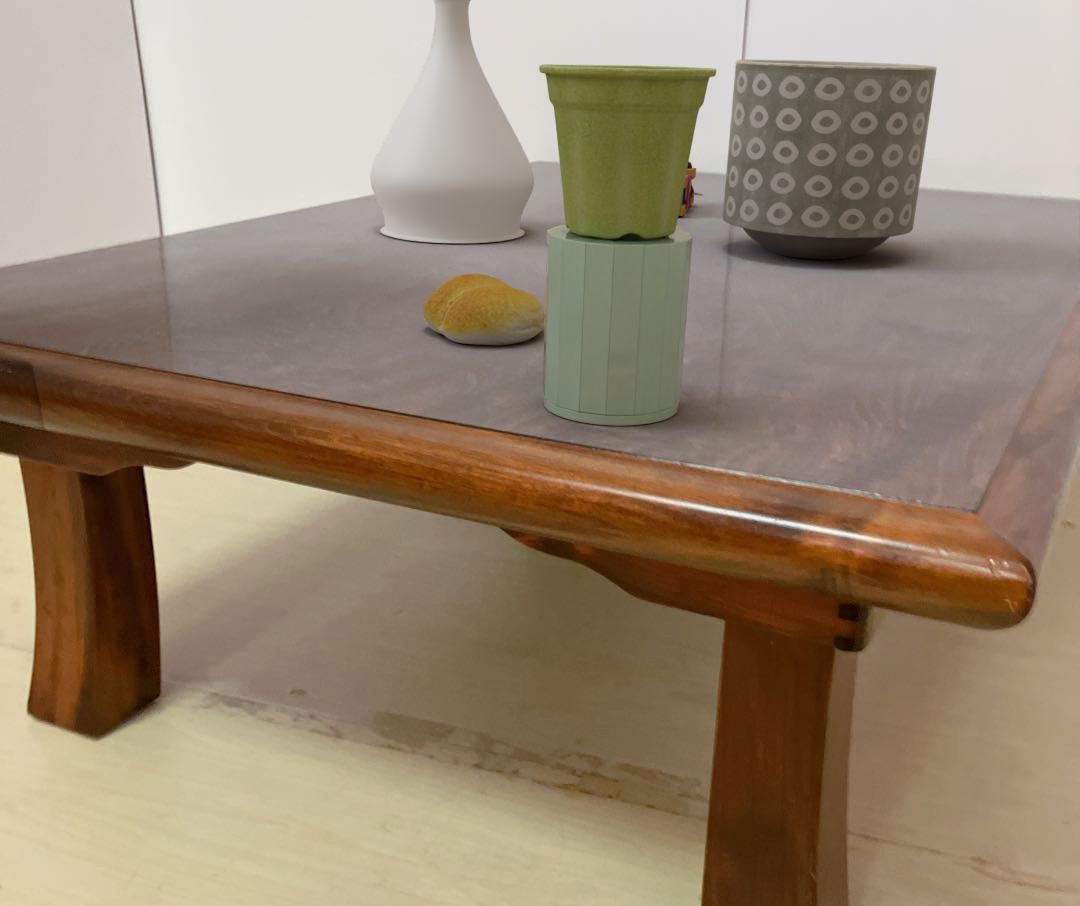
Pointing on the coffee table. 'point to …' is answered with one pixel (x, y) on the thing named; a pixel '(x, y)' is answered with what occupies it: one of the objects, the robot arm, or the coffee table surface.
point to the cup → (615, 326)
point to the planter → (826, 153)
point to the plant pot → (624, 144)
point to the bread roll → (483, 311)
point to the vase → (452, 150)
